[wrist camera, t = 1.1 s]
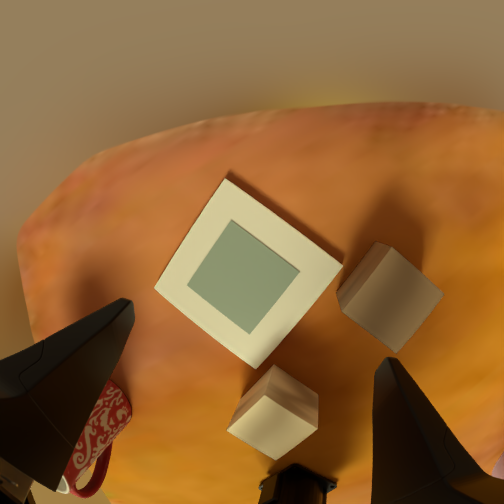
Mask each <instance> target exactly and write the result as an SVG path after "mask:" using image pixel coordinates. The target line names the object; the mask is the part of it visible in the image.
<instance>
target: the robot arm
mask: <svg viewBox="0 0 504 504" xmlns="http://www.w3.org/2000/svg"><path fill="white" fill-rule="evenodd" d="M134 322H135V313H134V305H133V302H132V301H131V300H129V299H126V298H120V299H118V300H116V301H114V302H112V303H110V304H108V305H107V306H105V307H103V308H101V309H99V310H97V311H95V312H93V313H92V314H90V315H88V316H86V317H84V318H82V319H80V320H78V321H77V322H75V323H73V324H71V325H69V326H67V327H65V328H64V329H62V330H60V331H58V332H56V333H54V334H53V335H51V336H49V337H47V338H45V340H41V341H40V342H38V343H36V344H34V345H32V346H30V347H28V348H26V349H24V350H22V351H20V352H18V353H16V354H14V355H11V356H9V357H6V358H4V359H2V360H0V504H36V503H35V501H34V498H33V495H32V492H31V490H30V488H31V486H32V484H33V482H34V480H35V481H37V482H38V483H40V484H42V485H43V486H45V487H47V488H49V489H50V490H52V491H54V492H56V490H57V488H58V486H59V483H60V481H61V479H62V476H63V474H64V472H65V469H66V467H67V465H68V462H69V460H70V458H71V456H72V453H73V451H74V448H75V447H76V444H77V442H78V440H79V438H80V436H81V434H82V432H83V429H84V427H85V425H86V423H87V421H88V419H89V417H90V415H91V413H92V411H93V409H94V407H95V405H96V403H97V401H98V399H99V397H100V395H101V393H102V391H103V389H104V387H105V385H106V383H107V381H108V379H109V378H110V376H111V374H112V372H113V370H114V368H115V366H116V364H117V363H118V361H119V359H120V356H121V354H122V352H123V349H124V347H125V344H126V342H127V339H128V337H129V334H130V332H131V329H132V327H133V325H134ZM372 423H373V470H372V494H371V504H504V479H500V478H496V477H493V476H490V475H488V474H487V473H485V472H484V471H483V470H482V469H481V468H480V466H479V465H478V464H477V463H476V462H475V460H474V459H473V458H472V457H471V456H470V454H469V453H468V452H467V451H466V450H465V448H464V447H463V446H462V445H461V443H460V442H459V441H458V440H457V438H456V437H455V435H454V434H453V433H452V431H451V430H450V428H449V427H448V426H447V424H446V423H445V422H444V420H443V419H442V417H441V416H440V415H439V413H438V412H437V411H436V409H435V408H434V406H433V405H432V404H431V402H430V401H429V400H428V398H427V397H426V396H425V394H424V393H423V392H422V390H421V389H420V388H419V386H418V385H417V384H416V382H415V381H414V380H413V378H412V377H411V376H410V374H409V373H408V372H407V370H406V369H405V368H404V367H403V365H402V364H401V363H400V361H399V360H398V359H397V358H393V357H386V358H385V359H384V360H383V362H382V363H381V364H380V366H379V367H378V369H377V370H376V372H375V376H374V394H373V409H372ZM336 487H337V483H336V482H333V481H331V480H329V479H327V478H325V477H323V476H321V475H318V474H316V473H314V472H312V471H310V470H308V469H306V468H304V467H302V466H301V465H299V464H292V465H290V466H289V467H287V468H286V469H284V470H283V471H281V472H279V473H277V474H275V475H274V476H272V477H270V478H269V479H267V480H266V481H264V482H263V483H262V484H260V485H259V490H261V495H260V499H259V502H258V504H326V498H327V493H328V492H330V491H332V490H333V489H335V488H336Z"/></svg>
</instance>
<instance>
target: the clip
mask: <svg viewBox="0 0 504 504" xmlns="http://www.w3.org/2000/svg"><path fill="white" fill-rule="evenodd" d="M492 476H493V477H496V478H500V479H504V452H503V454H502V455H501V456H500V458H499V459H498V461H497V463H496V464H495V466H494V468H493V471H492Z"/></svg>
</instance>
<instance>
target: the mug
mask: <svg viewBox="0 0 504 504" xmlns="http://www.w3.org/2000/svg"><path fill="white" fill-rule="evenodd" d="M131 415H132V412H131V407H130V404H129V402H128V400H127V398H126V396H125V395H124V393H123V392H122V391H121V390H120V388H119V387H118V386H117V385H116V384H114V383H113V382H112V381H111V380H109V379H108V381H107V383H106V385H105V387H104V389H103V391H102V393H101V395H100V397H99V399H98V401H97V403H96V405H95V407H94V409H93V411H92V413H91V415H90V417H89V419H88V421H87V423H86V425H85V427H84V429H83V432H82V434H81V436H80V438H79V440H78V442H77V444H76V447H75V448H74V451H73V453H72V456H71V458H70V460H69V462H68V465H67V467H66V469H65V472H64V474H63V476H62V479H61V481H60V483H59V486H58V488H57V491H59V492H61V493H64V494H68V493H69V492H70V493H72V494H74V495H75V496H78V497H81V498H89V497H91V496H92V495H94V494H95V493H96V492H97V491H98V490H99V488H100V487H101V485H102V483H103V481H104V479H105V476H106V473H107V469H108V465H109V460H110V456H111V450H112V443H113V440H114V439H115V438H116V436H117V435H118V434H119V433H120V432H121V431H122V430H123V429H124V427H125V426H126V425H127V424H128V423H129V422H130V420H131ZM96 459H97V461H96V465H95V469H94V472H93V475H92V477H91V479H90V481H89V482H88V484H87V485H86V486H85V487H84V488H82V489H80V490H77V488H76V482H77V480H78V479H79V478H80V477H81V476H82V475H83V474H84V473H85V472H86V470H87V469H88V468H89V467H90V466H91V465H92V464H93V462H94V461H95V460H96Z"/></svg>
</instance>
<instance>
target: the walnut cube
mask: <svg viewBox="0 0 504 504" xmlns="http://www.w3.org/2000/svg"><path fill="white" fill-rule="evenodd" d="M336 294H337V298H338V301H339V304H340V308H341V311H342V312H343V313H344V314H345V315H347V316H348V317H349V318H351V319H352V320H353V321H355V322H356V323H357V324H358V325H360V326H361V327H362V328H364V329H365V330H366V331H368V332H369V333H370V334H371V335H373V336H374V337H375V338H377V339H378V340H379V341H380V342H382V343H383V344H384V345H386V346H387V347H388V348H390V349H391V350H392V351H393V352H395V353H396V354H397V352H398V351H399V350H400V349H401V348H402V347H403V346H404V345H405V343H406V342H407V341H408V340H409V339H410V338H411V336H412V335H413V334H414V333H415V332H416V330H417V329H418V328H419V327H420V325H421V324H422V323H423V322H424V320H425V319H426V318H427V317H428V315H429V314H430V313H431V312H432V310H433V309H434V308H435V306H436V305H437V304H438V302H439V301H440V300H441V298H442V297H443V295H444V293H443V292H442V291H441V290H440V289H439V288H437V287H436V286H435V285H434V284H433V283H432V282H431V281H430V280H429V279H428V278H427V277H426V276H425V275H423V274H422V273H421V272H420V271H419V270H418V269H417V268H416V267H415V266H413V265H412V264H411V263H410V262H409V261H408V260H407V259H406V258H404V257H403V256H402V255H401V254H400V253H399V252H397V251H396V250H395V249H394V248H393V247H391V246H388V245H386V244H383V243H380V242H377V241H375V242H374V244H373V245H372V246H371V248H370V249H369V251H368V252H367V253H366V255H365V256H364V257H363V259H362V260H361V261H360V263H359V264H358V265H357V266H356V268H355V269H354V270H353V272H352V273H351V274H350V276H349V277H348V278H347V279H346V281H345V282H344V283H343V284H342V286H341V287H340V288H339V289H338V291H337V292H336Z"/></svg>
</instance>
